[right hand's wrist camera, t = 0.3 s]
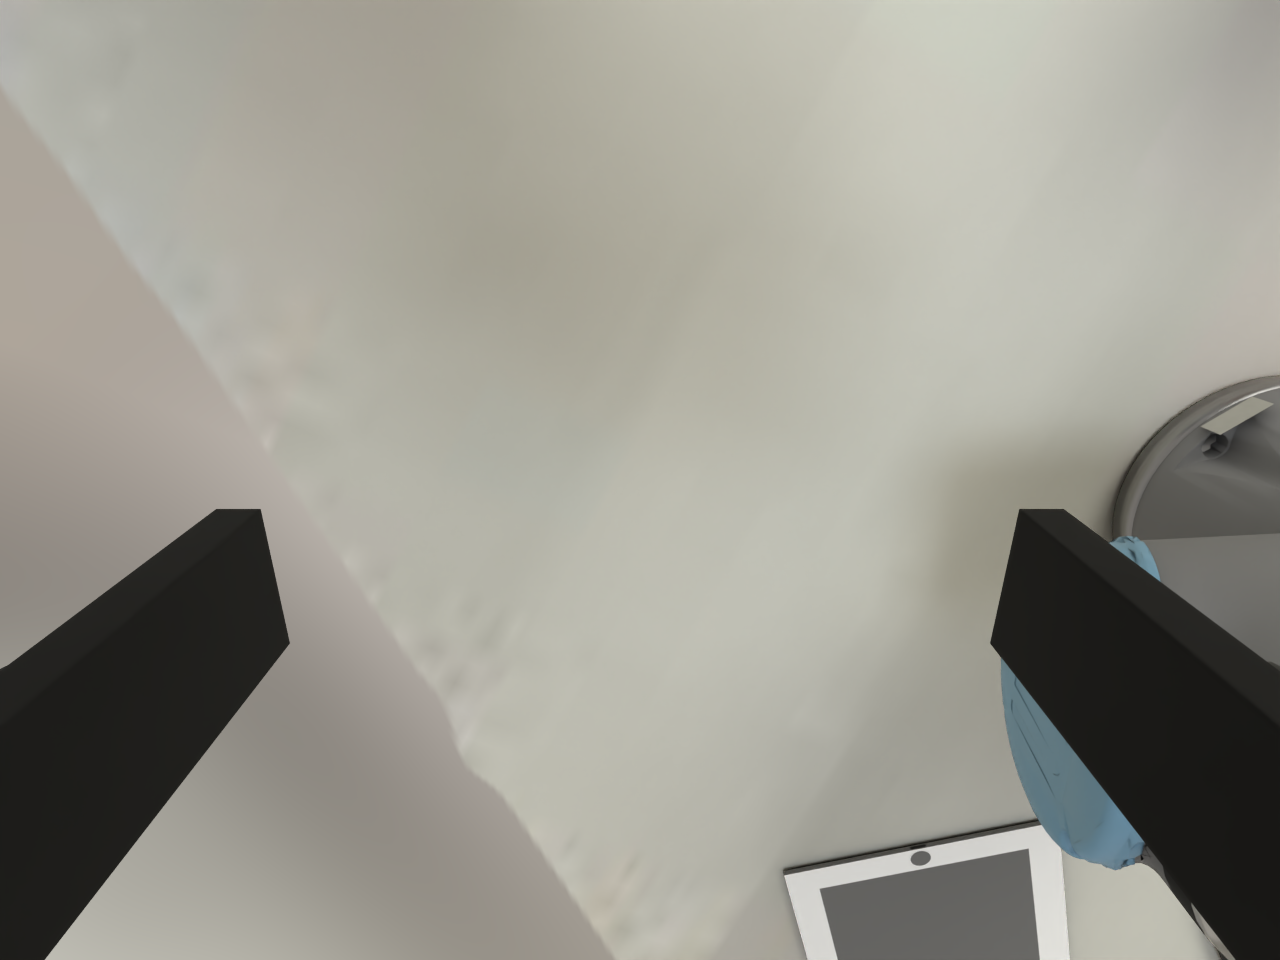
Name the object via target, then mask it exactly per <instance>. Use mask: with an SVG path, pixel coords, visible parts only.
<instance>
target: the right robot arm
mask: <svg viewBox="0 0 1280 960" xmlns="http://www.w3.org/2000/svg"><path fill="white" fill-rule="evenodd" d="M289 644H290V642H289V638H288V633H287V628H286V624H285V619H284V615H283V610H282V605H281V601H280V596H279V592H278V587H277V582H276V578H275V573H274V569H273V564H272V560H271V555H270V550H269V546H268V541H267V536H266V532H265V527H264V523H263V518H262V513H261V509H216V510H215V511H213V512H212V513H210V514H209V515H208V516H206V517H205V518H204V519H202V520H201V521H200V522H198V523H197V524H196V525H194V526H193V527H192V528H190V529H189V530H188V531H186V532H185V533H184V534H183V535H181V536H180V537H178V538H177V539H176V540H174V541H173V542H172V543H170V544H169V545H168V546H167V547H165V548H164V549H162V550H161V551H160V552H159V553H157V554H156V555H155V556H153V557H152V558H150V559H149V560H148V561H146V562H145V563H144V564H142V565H141V566H140V567H138V568H137V569H136V570H135V571H133V572H132V573H130V574H129V575H128V576H126V577H125V578H124V579H122V580H121V581H120V582H118V583H117V584H116V585H114V586H113V587H112V588H110V589H109V590H108V591H106V592H105V593H104V594H102V595H101V596H100V597H98V598H97V599H96V600H94V601H93V602H92V603H91V604H89V605H88V606H86V607H85V608H84V609H82V610H81V611H80V612H78V613H77V614H76V615H74V616H73V617H72V618H70V619H69V620H68V621H66V622H65V623H64V624H62V625H61V626H60V627H58V628H57V629H56V630H54V631H53V632H52V633H50V634H49V635H48V636H46V637H45V638H44V639H43V640H41V641H40V642H38V643H37V644H36V645H34V646H33V647H32V648H30V649H29V650H28V651H26V652H25V653H24V654H22V655H21V656H20V657H18V658H17V659H16V660H15V661H13V662H12V663H10V664H9V665H7V666H5V667H3V668H1V669H0V960H45V959H46V957H47V956H48V955H49V953H50V952H51V951H52V949H53V948H54V947H55V946H56V944H57V943H58V942H59V940H60V939H61V938H62V937H63V935H64V934H65V933H66V931H67V930H68V929H69V928H70V926H71V925H72V924H73V922H74V921H75V920H76V918H77V917H78V916H79V915H80V913H81V912H82V911H83V910H84V908H85V907H86V906H87V904H88V903H89V902H90V900H91V899H92V898H93V897H94V895H95V894H96V893H97V891H98V890H99V889H100V888H101V886H102V885H103V884H104V882H105V881H106V880H107V878H108V877H109V876H110V875H111V873H112V872H113V871H114V870H115V868H116V867H117V866H118V864H119V863H120V862H121V860H122V859H123V858H124V857H125V855H126V854H127V853H128V851H129V850H130V849H131V848H132V846H133V845H134V844H135V842H136V841H137V840H138V838H139V837H140V836H141V835H142V833H143V832H144V831H145V829H146V828H147V827H148V826H149V824H150V823H151V822H152V820H153V819H154V818H155V817H156V815H157V814H158V813H159V811H160V810H161V809H162V808H163V806H164V805H165V804H166V802H167V801H168V800H169V798H170V797H171V796H172V795H173V793H174V792H175V791H176V789H177V788H178V787H179V786H180V784H181V783H182V782H183V780H184V779H185V778H186V777H187V775H188V774H189V773H190V771H191V770H192V769H193V768H194V766H195V765H196V764H197V762H198V761H199V760H200V759H201V757H202V756H203V755H204V753H205V752H206V751H207V749H208V748H209V747H210V746H211V744H212V743H213V742H214V740H215V739H216V738H217V737H218V735H219V734H220V733H221V731H222V730H223V729H224V728H225V726H226V725H227V724H228V722H229V721H230V720H231V718H232V717H233V716H234V715H235V713H236V712H237V711H238V709H239V708H240V707H241V706H242V704H243V703H244V702H245V700H246V699H247V698H248V697H249V695H250V694H251V693H252V691H253V690H254V689H255V688H256V686H257V685H258V684H259V682H260V681H261V680H262V679H263V677H264V676H265V675H266V673H267V672H268V671H269V669H270V668H271V667H272V666H273V664H274V663H275V662H276V660H277V659H278V658H279V657H280V655H281V654H282V653H283V651H284V650H285V649H286V648H287V646H288V645H289ZM990 644H991V645H992V646H993V648H994V649H995V650H996V651H997V653H998V654H999V655H1000V657H1001V658H1002V659H1003V660H1004V662H1005V663H1006V664H1007V666H1008V667H1009V668H1010V670H1011V671H1012V672H1013V673H1014V675H1015V676H1016V677H1017V679H1018V680H1019V681H1020V682H1021V684H1022V685H1023V686H1024V688H1025V689H1026V690H1027V691H1028V693H1029V694H1030V695H1031V697H1032V698H1033V699H1034V700H1035V702H1036V703H1037V704H1038V706H1039V707H1040V708H1041V710H1042V711H1043V712H1044V713H1045V715H1046V716H1047V717H1048V719H1049V720H1050V721H1051V722H1052V724H1053V725H1054V726H1055V728H1056V729H1057V730H1058V731H1059V733H1060V734H1061V735H1062V737H1063V738H1064V739H1065V740H1066V742H1067V743H1068V744H1069V746H1070V747H1071V748H1072V750H1073V751H1074V752H1075V753H1076V755H1077V756H1078V757H1079V759H1080V760H1081V761H1082V762H1083V764H1084V765H1085V766H1086V768H1087V769H1088V770H1089V771H1090V773H1091V774H1092V775H1093V777H1094V778H1095V779H1096V780H1097V782H1098V783H1099V784H1100V786H1101V787H1102V788H1103V790H1104V791H1105V792H1106V793H1107V795H1108V796H1109V797H1110V799H1111V800H1112V801H1113V802H1114V804H1115V805H1116V806H1117V808H1118V809H1119V810H1120V811H1121V813H1122V814H1123V815H1124V817H1125V818H1126V819H1127V820H1128V822H1129V823H1130V824H1131V826H1132V827H1133V828H1134V830H1135V831H1136V832H1137V833H1138V835H1139V836H1140V837H1141V839H1142V840H1143V841H1144V842H1145V844H1146V845H1147V846H1148V848H1149V849H1150V850H1151V851H1152V853H1153V854H1154V855H1155V857H1156V858H1157V859H1158V860H1159V862H1160V863H1161V864H1162V866H1163V867H1164V868H1165V870H1166V871H1167V872H1168V873H1169V875H1170V876H1171V877H1172V879H1173V880H1174V881H1175V882H1176V884H1177V885H1178V886H1179V888H1180V889H1181V890H1182V891H1183V893H1184V894H1185V895H1186V897H1187V898H1188V899H1189V900H1190V902H1191V903H1192V904H1193V906H1194V907H1195V908H1196V910H1197V911H1198V912H1199V913H1200V915H1201V916H1202V917H1203V919H1204V920H1205V921H1206V922H1207V924H1208V925H1209V926H1210V928H1211V929H1212V930H1213V931H1214V933H1215V934H1216V935H1217V937H1218V938H1219V939H1220V940H1221V942H1222V943H1223V944H1224V946H1225V947H1226V948H1227V950H1228V951H1229V952H1230V953H1231V955H1232V956H1233V957H1234V959H1235V960H1280V666H1279V665H1277V664H1275V663H1273V662H1267V661H1266V660H1264V659H1263V658H1262V657H1260V656H1259V655H1258V654H1256V653H1255V652H1254V651H1252V650H1251V649H1250V648H1248V647H1247V646H1246V645H1244V644H1243V643H1242V642H1240V641H1239V640H1238V639H1236V638H1235V637H1234V636H1232V635H1231V634H1230V633H1228V632H1227V631H1226V630H1224V629H1223V628H1222V627H1220V626H1219V625H1218V624H1216V623H1215V622H1214V621H1212V620H1211V619H1210V618H1208V617H1207V616H1206V615H1204V614H1203V613H1202V612H1200V611H1199V610H1198V609H1196V608H1195V607H1194V606H1192V605H1191V604H1190V603H1188V602H1187V601H1186V600H1184V599H1183V598H1182V597H1180V596H1179V595H1178V594H1176V593H1175V592H1174V591H1172V590H1171V589H1170V588H1168V587H1167V586H1166V585H1164V584H1163V583H1162V582H1160V581H1159V580H1158V579H1156V578H1155V577H1154V576H1152V575H1151V574H1150V573H1148V572H1147V571H1146V570H1144V569H1143V568H1142V567H1140V566H1139V565H1138V564H1136V563H1135V562H1134V561H1132V560H1131V559H1130V558H1128V557H1127V556H1126V555H1124V554H1123V553H1122V552H1120V551H1119V550H1118V549H1116V548H1115V547H1114V546H1112V545H1111V544H1110V543H1108V542H1107V541H1106V540H1104V539H1103V538H1102V537H1100V536H1099V535H1098V534H1096V533H1095V532H1094V531H1092V530H1091V529H1090V528H1088V527H1087V526H1086V525H1084V524H1083V523H1082V522H1080V521H1079V520H1078V519H1076V518H1075V517H1074V516H1072V515H1071V514H1070V513H1068V512H1067V511H1066V510H1064V509H1019V513H1018V518H1017V523H1016V527H1015V532H1014V536H1013V541H1012V546H1011V550H1010V555H1009V559H1008V564H1007V569H1006V573H1005V578H1004V582H1003V587H1002V592H1001V596H1000V601H999V605H998V610H997V614H996V619H995V624H994V628H993V633H992V637H991V642H990Z"/></svg>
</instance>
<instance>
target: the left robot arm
mask: <svg viewBox="0 0 1280 960" xmlns="http://www.w3.org/2000/svg"><path fill="white" fill-rule="evenodd" d="M1109 543H1110V544H1111V545H1112V546H1114V547H1115V548H1116V549H1118V550H1119V551H1120V552H1122V553H1123V554H1124V555H1126V556H1127V557H1128V558H1130V559H1131V560H1132V561H1134V562H1135V563H1136V564H1138V565H1139V566H1140V567H1142V568H1143V569H1144V570H1146V571H1147V572H1148V573H1150V574H1151V575H1152V576H1154V577H1155V578H1156V579H1158V580H1159V581H1160V582H1162V583H1163V584H1164V585H1166V586H1167V587H1168V588H1170V589H1171V590H1172V591H1174V592H1175V593H1176V594H1178V595H1179V596H1180V597H1182V598H1183V599H1184V600H1186V601H1187V602H1188V603H1190V604H1191V605H1192V606H1194V607H1195V608H1196V609H1198V610H1199V611H1200V612H1202V613H1203V614H1204V615H1206V616H1207V617H1208V618H1210V619H1211V620H1212V621H1214V622H1215V623H1216V624H1218V625H1219V626H1220V627H1222V628H1223V629H1224V630H1226V631H1227V632H1228V633H1230V634H1231V635H1232V636H1234V637H1235V638H1236V639H1238V640H1239V641H1240V642H1242V643H1243V644H1244V645H1246V646H1247V647H1248V648H1250V649H1251V650H1252V651H1254V652H1255V653H1256V654H1258V655H1259V656H1260V657H1262V658H1263V659H1264V660H1266V661H1267V662H1273V663H1275V664H1277V665H1279V666H1280V376H1271V377H1264V378H1258V379H1253V380H1249V381H1246V382H1242V383H1239V384H1236V385H1233V386H1230V387H1228V388H1225V389H1223V390H1220V391H1218V392H1216V393H1214V394H1212V395H1210V396H1208V397H1206V398H1204V399H1202V400H1201V401H1199V402H1197V403H1195V404H1194V405H1192V406H1191V407H1189V408H1188V409H1186V410H1185V411H1183V412H1182V413H1181V414H1179V415H1178V416H1177V417H1175V418H1174V419H1173V420H1172V421H1171V422H1169V423H1168V424H1167V425H1166V426H1165V427H1164V428H1163V429H1162V430H1161V431H1160V432H1159V433H1158V434H1157V435H1156V436H1155V437H1154V438H1153V439H1152V440H1151V441H1150V442H1149V443H1148V445H1147V446H1146V447H1145V448H1144V449H1143V451H1142V452H1141V453H1140V455H1139V456H1138V458H1137V459H1136V461H1135V462H1134V464H1133V465H1132V467H1131V469H1130V470H1129V472H1128V474H1127V476H1126V478H1125V480H1124V482H1123V484H1122V487H1121V489H1120V492H1119V495H1118V498H1117V502H1116V506H1115V510H1114V517H1113V541H1111V542H1109ZM1001 685H1002V696H1003V705H1004V711H1005V721H1006V727H1007V733H1008V738H1009V742H1010V747H1011V751H1012V755H1013V758H1014V762H1015V765H1016V768H1017V772H1018V775H1019V778H1020V780H1021V783H1022V785H1023V788H1024V790H1025V793H1026V795H1027V798H1028V800H1029V802H1030V805H1031V807H1032V809H1033V811H1034V813H1035V815H1036V816H1037V818H1038V820H1039V822H1040V823H1041V825H1042V826H1043V828H1044V829H1045V831H1046V832H1047V834H1048V835H1049V836H1050V837H1051V838H1052V840H1053V841H1054V842H1055V843H1056V844H1057V845H1058V846H1059V847H1060V848H1062V849H1063V850H1064V851H1065V852H1066V853H1068V854H1069V855H1071V856H1073V857H1076V858H1079V859H1085V860H1087V861H1088V862H1091V863H1097V864H1102V865H1103V866H1105V867H1106V868H1107V867H1108V868H1111V869H1113V870H1118V869H1121V868H1122V867H1126V866H1129V865H1133V864H1135V863H1143V864H1145V865H1148V866H1149V867H1151V868H1152V869H1154V870H1155V871H1156V872H1157V873H1158V874H1159V875H1160V877H1161V878H1162V879H1163V881H1164V882H1165V883H1166V884H1167V886H1168V887H1169V888H1170V890H1171V891H1172V892H1173V894H1174V895H1175V896H1176V898H1177V899H1178V900H1179V902H1180V903H1181V904H1182V906H1183V907H1184V908H1185V910H1186V911H1187V912H1188V913H1189V915H1190V916H1191V917H1192V919H1193V920H1194V921H1195V923H1196V924H1197V925H1198V927H1199V928H1200V929H1201V931H1202V932H1203V933H1204V935H1205V936H1206V937H1207V938H1208V940H1209V941H1210V942H1211V943H1212V944H1213V945H1214V946H1215V947H1216V948H1217V949H1218V952H1219V954H1220V957H1221V959H1222V960H1235V959H1234V957H1233V956H1232V955H1231V953H1230V952H1229V951H1228V950H1227V948H1226V947H1225V946H1224V944H1223V943H1222V942H1221V940H1220V939H1219V938H1218V937H1217V935H1216V934H1215V933H1214V931H1213V930H1212V929H1211V928H1210V926H1209V925H1208V924H1207V922H1206V921H1205V920H1204V919H1203V917H1202V916H1201V915H1200V913H1199V912H1198V911H1197V910H1196V908H1195V907H1194V906H1193V904H1192V903H1191V902H1190V900H1189V899H1188V898H1187V897H1186V895H1185V894H1184V893H1183V891H1182V890H1181V889H1180V888H1179V886H1178V885H1177V884H1176V882H1175V881H1174V880H1173V879H1172V877H1171V876H1170V875H1169V873H1168V872H1167V871H1166V870H1165V868H1164V867H1163V866H1162V864H1161V863H1160V862H1159V860H1158V859H1157V858H1156V857H1155V855H1154V854H1153V853H1152V851H1151V850H1150V849H1149V848H1148V846H1147V845H1146V844H1145V842H1144V841H1143V840H1142V839H1141V837H1140V836H1139V835H1138V833H1137V832H1136V831H1135V830H1134V828H1133V827H1132V826H1131V824H1130V823H1129V822H1128V820H1127V819H1126V818H1125V817H1124V815H1123V814H1122V813H1121V811H1120V810H1119V809H1118V808H1117V806H1116V805H1115V804H1114V802H1113V801H1112V800H1111V799H1110V797H1109V796H1108V795H1107V793H1106V792H1105V791H1104V790H1103V788H1102V787H1101V786H1100V784H1099V783H1098V782H1097V780H1096V779H1095V778H1094V777H1093V775H1092V774H1091V773H1090V771H1089V770H1088V769H1087V768H1086V766H1085V765H1084V764H1083V762H1082V761H1081V760H1080V759H1079V757H1078V756H1077V755H1076V753H1075V752H1074V751H1073V750H1072V748H1071V747H1070V746H1069V744H1068V743H1067V742H1066V740H1065V739H1064V738H1063V737H1062V735H1061V734H1060V733H1059V731H1058V730H1057V729H1056V728H1055V726H1054V725H1053V724H1052V722H1051V721H1050V720H1049V719H1048V717H1047V716H1046V715H1045V713H1044V712H1043V711H1042V710H1041V708H1040V707H1039V706H1038V704H1037V703H1036V702H1035V700H1034V699H1033V698H1032V697H1031V695H1030V694H1029V693H1028V691H1027V690H1026V689H1025V688H1024V686H1023V685H1022V684H1021V682H1020V681H1019V680H1018V679H1017V677H1016V676H1015V675H1014V673H1013V672H1012V671H1011V670H1010V668H1009V667H1008V666H1007V664H1006V663H1005V662H1004V660H1003V659H1002V658H1001Z"/></svg>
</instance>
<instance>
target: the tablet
mask: <svg viewBox="0 0 1280 960" xmlns="http://www.w3.org/2000/svg"><path fill="white" fill-rule="evenodd" d="M783 873H784V877H785V881H786V884H787V888H788V891H789V895H790V898H791V902H792V905H793V909H794V913H795V916H796V920H797V923H798V927H799V930H800V934H801V938H802V941H803V945H804V948H805V952H806V955H807V959H808V960H1070V956H1069V943H1068V930H1067V917H1066V904H1065V891H1064V878H1063V866H1062V853H1061V848H1060V847H1059V846H1058V845H1057V844H1056V843H1055V842H1054V841H1053V840H1052V838H1051V837H1050V836H1049V835H1048V834H1047V832H1046V831H1045V829H1044V828H1043V826H1042V825H1041V823H1040V822H1039V821H1036V822H1031V823H1026V824H1021V825H1015V826H1010V827H1005V828H1000V829H995V830H990V831H985V832H980V833H975V834H970V835H965V836H959V837H954V838H949V839H944V840H939V841H934V842H929V843H924V844H919V845H914V846H909V847H903V848H898V849H893V850H888V851H883V852H878V853H873V854H868V855H863V856H858V857H853V858H847V859H842V860H837V861H832V862H827V863H822V864H817V865H812V866H807V867H802V868H797V869H791V870H786V871H783Z"/></svg>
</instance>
